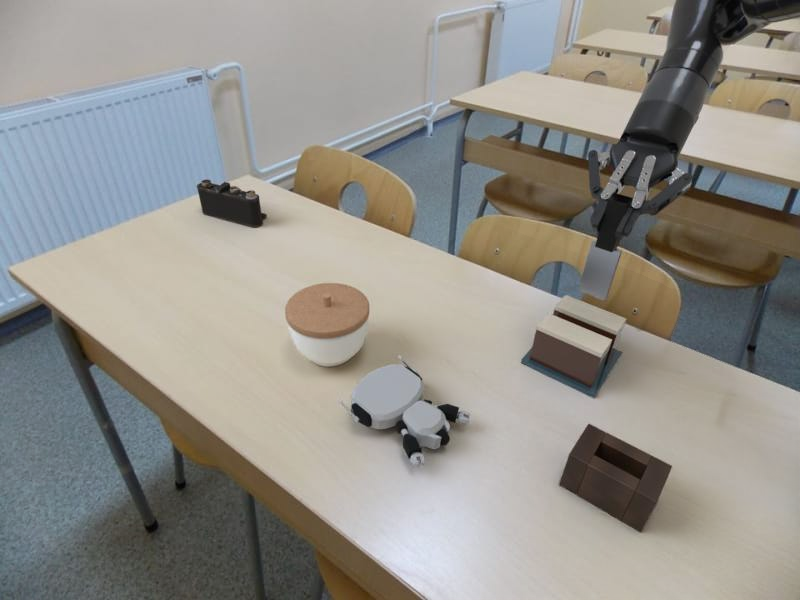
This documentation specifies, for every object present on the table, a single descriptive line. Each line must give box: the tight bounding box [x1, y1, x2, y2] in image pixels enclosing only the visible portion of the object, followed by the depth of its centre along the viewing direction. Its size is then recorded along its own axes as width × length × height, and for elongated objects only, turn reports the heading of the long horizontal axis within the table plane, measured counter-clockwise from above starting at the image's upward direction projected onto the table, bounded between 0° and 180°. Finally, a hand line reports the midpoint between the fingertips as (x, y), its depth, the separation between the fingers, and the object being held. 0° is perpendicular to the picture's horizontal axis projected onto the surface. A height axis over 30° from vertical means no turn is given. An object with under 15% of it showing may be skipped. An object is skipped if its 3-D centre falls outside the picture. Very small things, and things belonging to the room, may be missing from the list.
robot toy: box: [336, 354, 471, 467], centre depth 70 cm, size 12×4×15 cm
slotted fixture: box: [520, 294, 627, 399], centre depth 80 cm, size 12×12×8 cm
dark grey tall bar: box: [577, 193, 634, 302], centre depth 70 cm, size 4×2×15 cm, turn 52°
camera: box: [196, 179, 268, 229], centre depth 118 cm, size 16×7×8 cm, turn 65°
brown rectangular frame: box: [558, 423, 673, 533], centre depth 62 cm, size 10×6×6 cm, turn 52°
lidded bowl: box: [284, 282, 371, 368], centre depth 80 cm, size 13×13×11 cm
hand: (606, 232), depth 67 cm, fingers closed on dark grey tall bar, 2 cm apart
